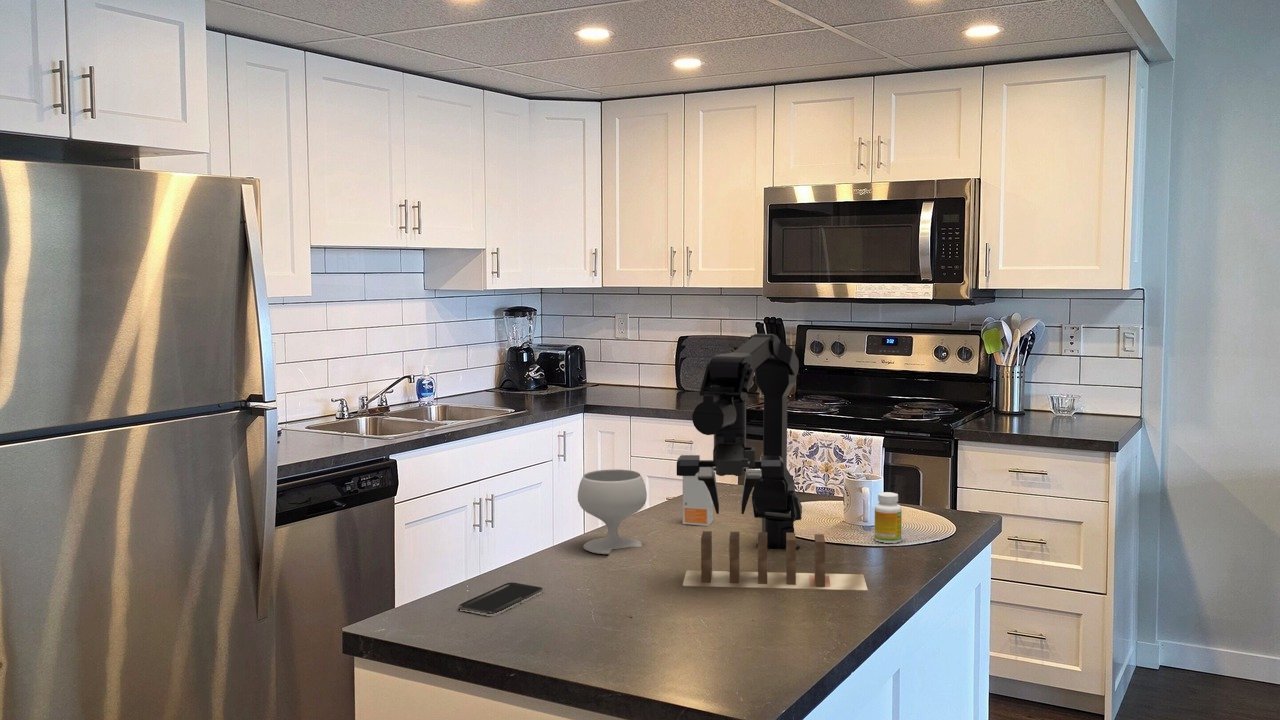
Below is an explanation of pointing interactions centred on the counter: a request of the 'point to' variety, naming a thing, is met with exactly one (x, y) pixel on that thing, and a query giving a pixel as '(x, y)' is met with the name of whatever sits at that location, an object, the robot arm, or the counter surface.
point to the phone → (500, 598)
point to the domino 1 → (706, 557)
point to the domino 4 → (791, 558)
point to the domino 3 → (762, 557)
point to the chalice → (611, 504)
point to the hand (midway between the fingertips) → (730, 513)
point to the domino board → (778, 580)
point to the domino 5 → (819, 560)
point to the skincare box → (696, 502)
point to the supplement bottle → (888, 518)
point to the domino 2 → (734, 557)
